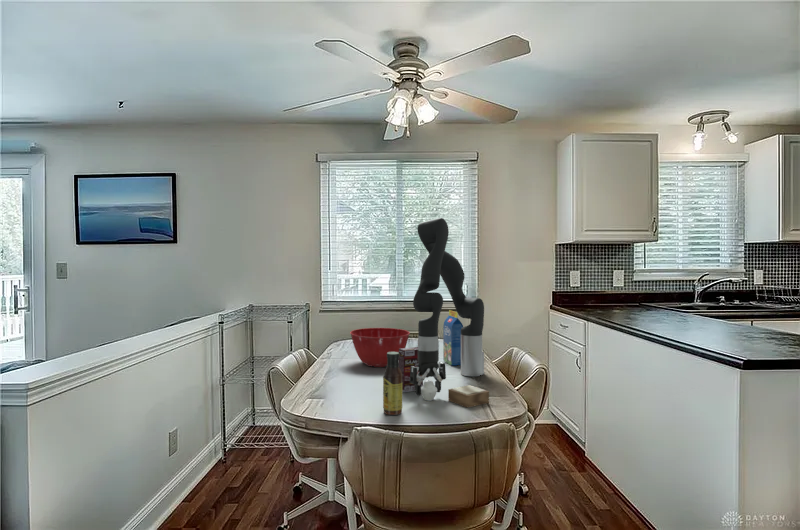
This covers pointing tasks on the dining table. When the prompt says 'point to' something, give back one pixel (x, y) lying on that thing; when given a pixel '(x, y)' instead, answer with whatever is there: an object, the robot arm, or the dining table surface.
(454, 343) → the blue food package
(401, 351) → the supplement box
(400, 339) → the mixing bowl
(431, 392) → the white fluted ornament
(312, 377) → the dining table surface
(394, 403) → the sauce bottle
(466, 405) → the base
